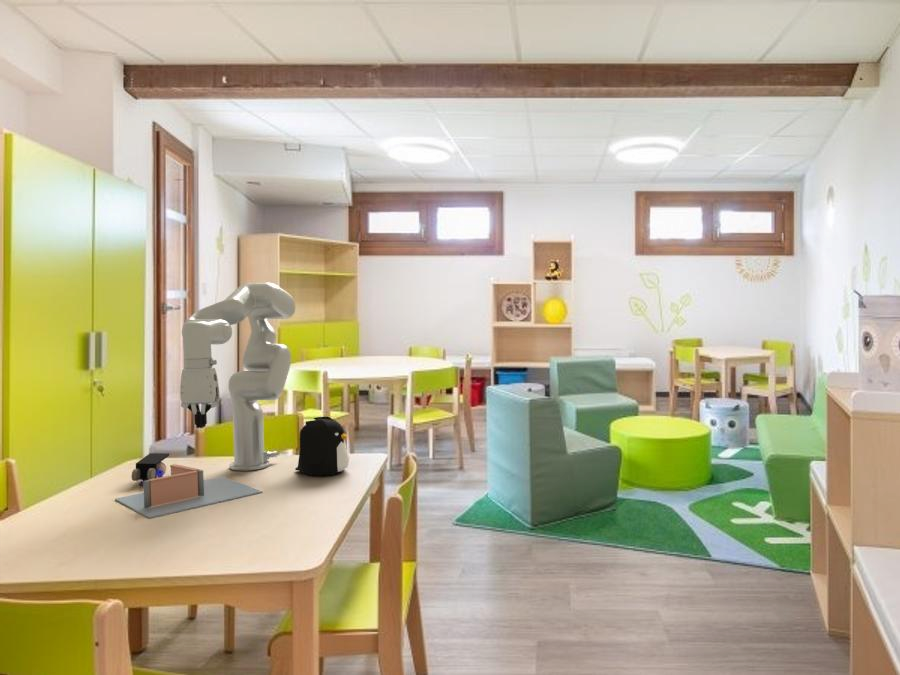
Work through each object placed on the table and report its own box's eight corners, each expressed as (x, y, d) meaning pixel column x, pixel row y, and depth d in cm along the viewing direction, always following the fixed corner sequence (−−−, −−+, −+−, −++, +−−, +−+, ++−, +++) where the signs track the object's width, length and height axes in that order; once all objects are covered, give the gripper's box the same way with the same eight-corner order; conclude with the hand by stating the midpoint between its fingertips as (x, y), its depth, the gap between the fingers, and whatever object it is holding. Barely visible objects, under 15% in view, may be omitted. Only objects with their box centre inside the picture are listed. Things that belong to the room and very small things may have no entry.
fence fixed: (202, 495, 201) (201, 469, 200) (205, 496, 200) (204, 470, 199) (143, 508, 189) (142, 480, 189) (145, 509, 188) (144, 481, 188)
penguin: (339, 480, 215) (338, 423, 214) (283, 478, 218) (282, 422, 217) (357, 466, 233) (356, 413, 232) (305, 464, 236) (304, 413, 235)
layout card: (222, 477, 220) (222, 476, 220) (262, 492, 203) (262, 490, 203) (114, 499, 198) (114, 498, 198) (149, 518, 181) (149, 516, 181)
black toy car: (155, 492, 211) (171, 473, 226) (152, 467, 209) (170, 450, 224) (131, 492, 210) (150, 474, 225) (129, 468, 209) (148, 451, 224)
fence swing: (200, 492, 201) (200, 469, 200) (196, 493, 200) (195, 470, 199) (175, 486, 208) (174, 464, 207) (170, 487, 206) (170, 465, 206)
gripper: (228, 362, 208) (230, 424, 210) (177, 363, 208) (180, 425, 210) (219, 365, 201) (222, 429, 202) (166, 366, 201) (170, 430, 202)
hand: (201, 427), depth 206 cm, fingers closed
